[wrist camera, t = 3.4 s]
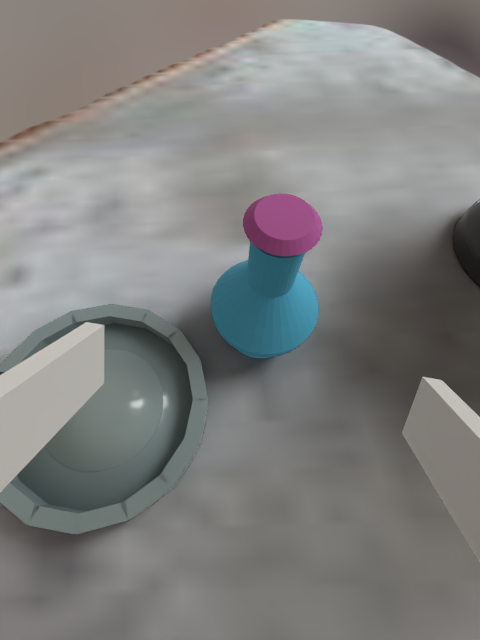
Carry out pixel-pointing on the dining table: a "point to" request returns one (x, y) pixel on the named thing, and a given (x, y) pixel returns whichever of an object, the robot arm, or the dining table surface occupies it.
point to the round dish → (115, 426)
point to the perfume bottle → (270, 280)
